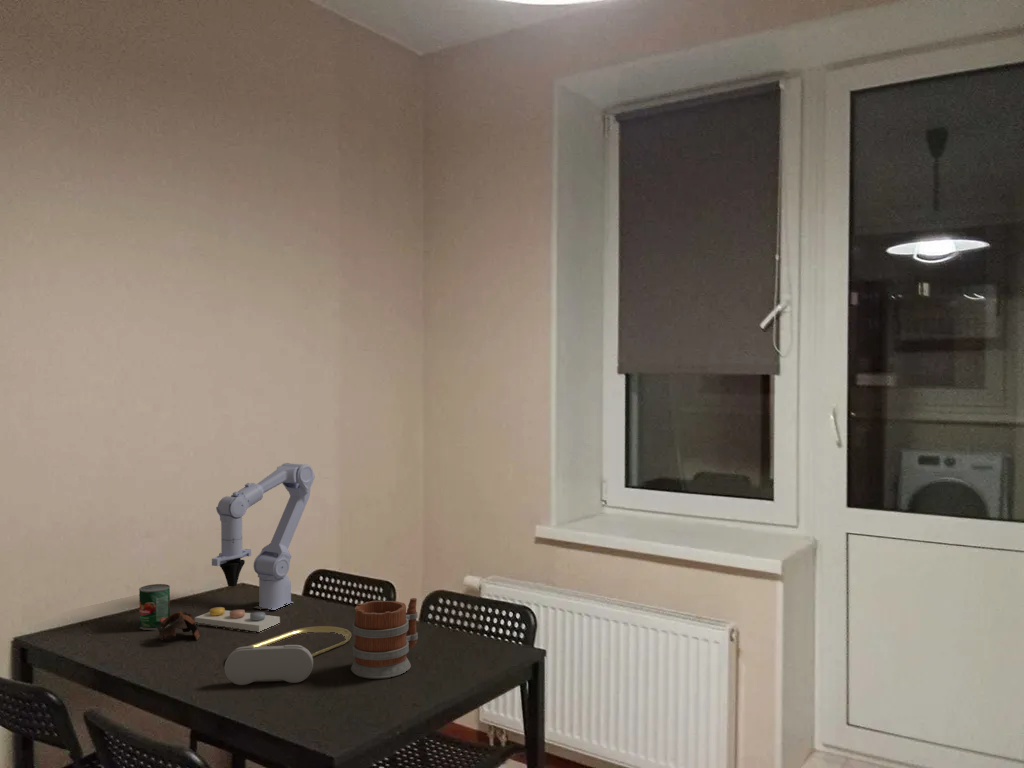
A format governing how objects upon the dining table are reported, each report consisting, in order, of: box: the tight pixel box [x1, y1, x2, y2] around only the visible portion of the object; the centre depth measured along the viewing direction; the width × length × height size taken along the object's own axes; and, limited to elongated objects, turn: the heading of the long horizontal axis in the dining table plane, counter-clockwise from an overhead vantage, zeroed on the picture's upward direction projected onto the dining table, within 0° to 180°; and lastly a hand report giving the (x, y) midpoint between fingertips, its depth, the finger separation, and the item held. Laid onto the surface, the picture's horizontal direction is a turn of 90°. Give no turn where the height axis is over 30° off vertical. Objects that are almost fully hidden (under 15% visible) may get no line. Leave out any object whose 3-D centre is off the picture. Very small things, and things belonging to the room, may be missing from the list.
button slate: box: [250, 611, 266, 620], centre depth 234 cm, size 4×4×1 cm
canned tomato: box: [138, 583, 171, 628], centre depth 235 cm, size 8×8×11 cm
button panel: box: [194, 609, 281, 633], centre depth 237 cm, size 9×22×2 cm, turn 69°
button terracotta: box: [229, 609, 246, 618], centre depth 237 cm, size 4×4×1 cm
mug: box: [350, 597, 419, 680], centre depth 202 cm, size 14×19×15 cm
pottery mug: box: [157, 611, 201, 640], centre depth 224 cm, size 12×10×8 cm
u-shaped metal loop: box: [227, 625, 353, 658], centre depth 215 cm, size 19×35×2 cm, turn 149°
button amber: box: [209, 606, 226, 615], centre depth 239 cm, size 4×4×1 cm
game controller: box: [224, 644, 314, 686], centre depth 192 cm, size 20×2×8 cm, turn 96°
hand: (232, 585), depth 242 cm, fingers closed
